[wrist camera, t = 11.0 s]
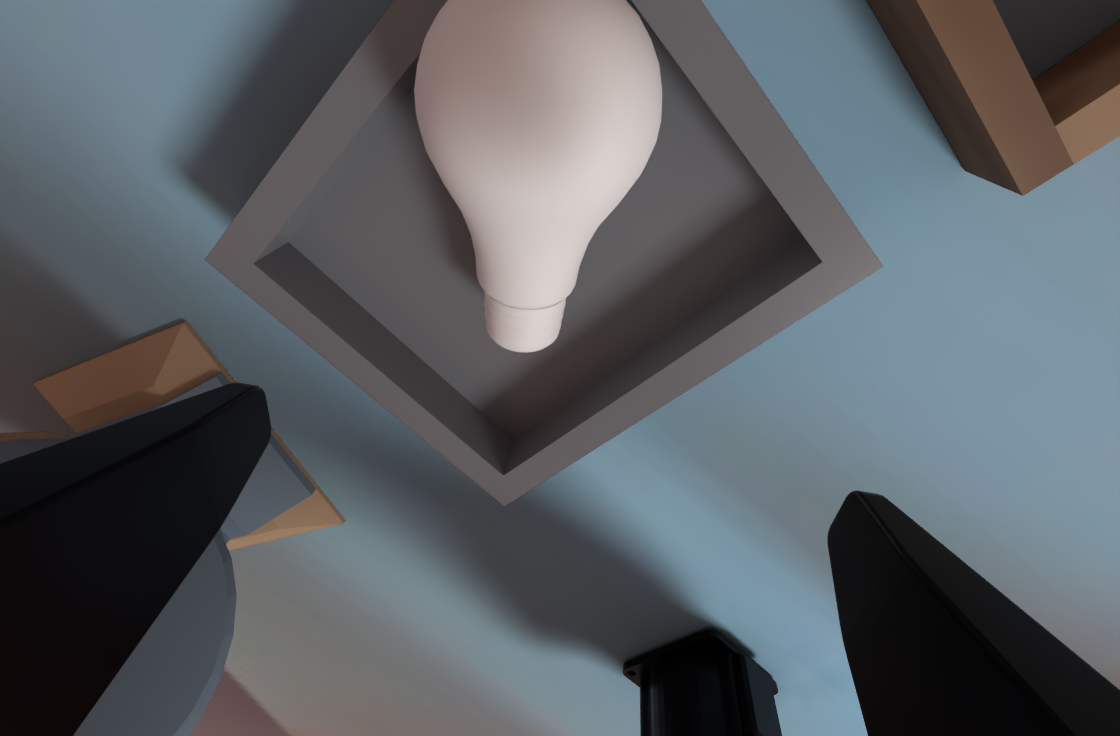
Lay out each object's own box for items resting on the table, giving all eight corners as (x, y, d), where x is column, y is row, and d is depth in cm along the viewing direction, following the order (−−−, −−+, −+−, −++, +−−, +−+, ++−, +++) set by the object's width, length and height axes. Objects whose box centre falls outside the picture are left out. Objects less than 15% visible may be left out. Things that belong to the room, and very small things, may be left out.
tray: (517, 458, 25) (504, 506, 23) (256, 231, 21) (204, 259, 18) (849, 233, 19) (883, 266, 16) (566, -173, 14) (551, -218, 12)
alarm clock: (19, 363, 26) (-827, 826, 11) (170, 300, 23) (-688, 803, 8) (219, 564, 32) (-141, 1029, 17) (356, 533, 29) (68, 1057, 14)
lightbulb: (481, 436, 16) (487, -8, 9) (405, 317, 20) (362, -72, 12) (643, 372, 19) (752, -8, 12) (550, 278, 23) (588, -61, 15)
